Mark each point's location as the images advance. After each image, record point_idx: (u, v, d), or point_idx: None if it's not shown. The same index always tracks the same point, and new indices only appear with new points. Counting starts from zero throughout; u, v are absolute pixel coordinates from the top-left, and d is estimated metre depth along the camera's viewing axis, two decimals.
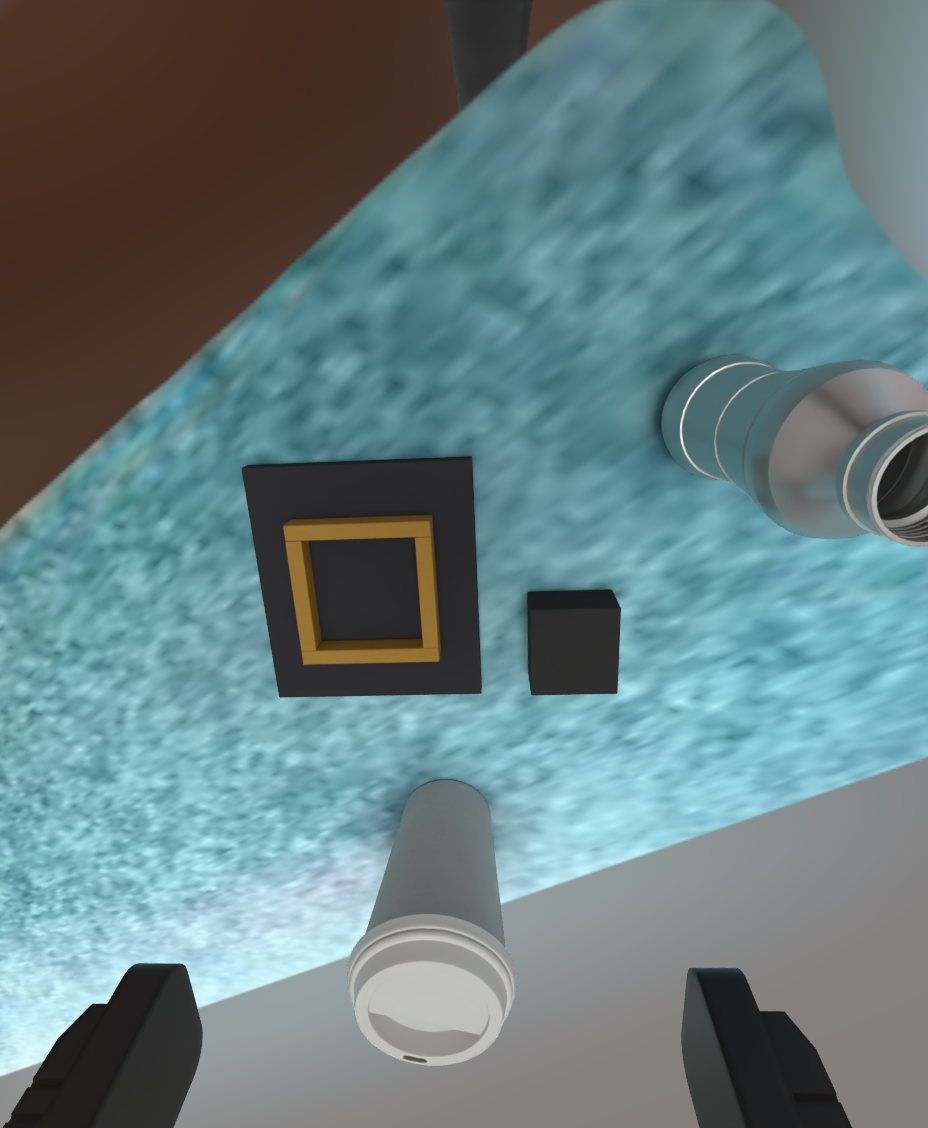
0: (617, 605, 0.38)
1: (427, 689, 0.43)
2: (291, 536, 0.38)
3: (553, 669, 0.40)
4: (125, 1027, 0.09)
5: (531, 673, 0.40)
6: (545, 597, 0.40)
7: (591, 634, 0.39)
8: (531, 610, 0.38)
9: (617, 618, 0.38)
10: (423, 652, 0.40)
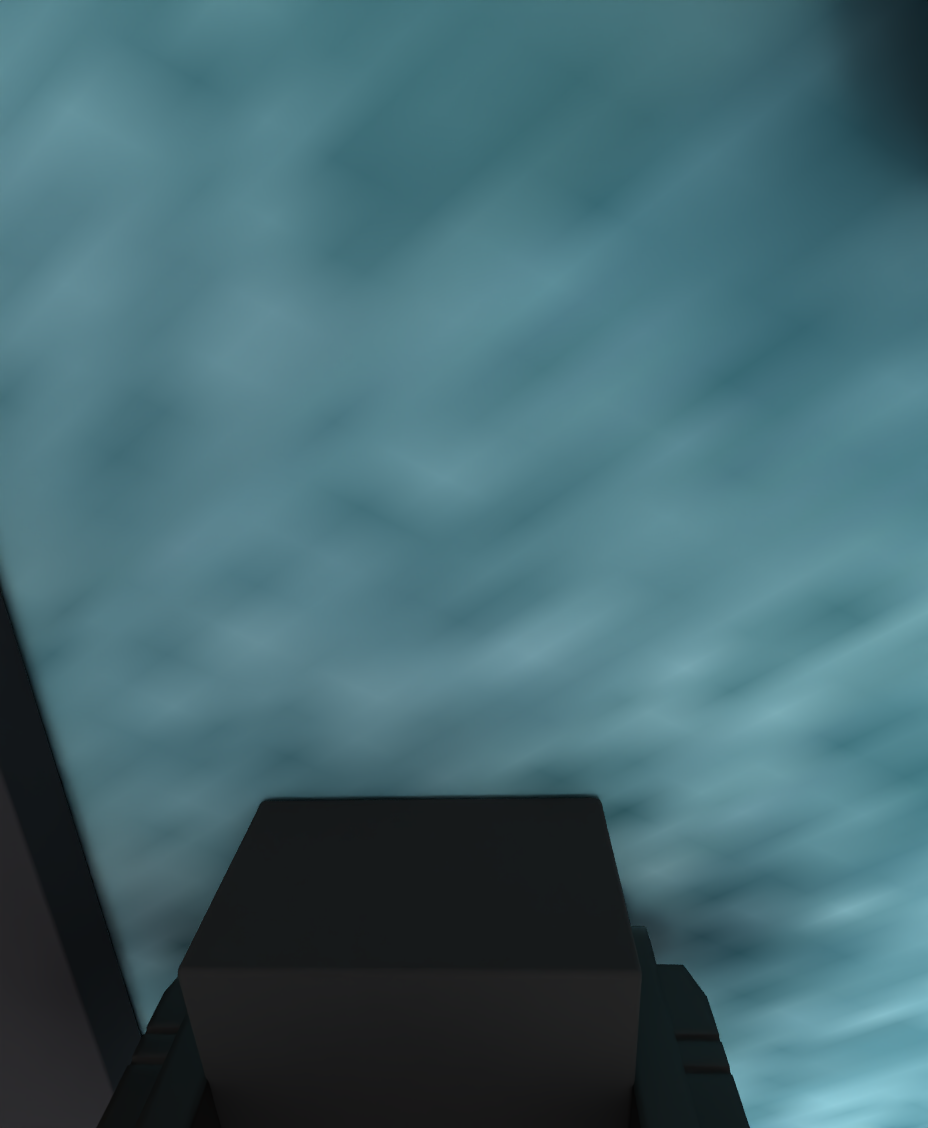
0: (623, 944, 0.07)
1: None
2: None
3: None
4: None
5: None
6: (307, 850, 0.09)
7: (493, 1074, 0.08)
8: (183, 971, 0.07)
9: (624, 1018, 0.07)
10: None
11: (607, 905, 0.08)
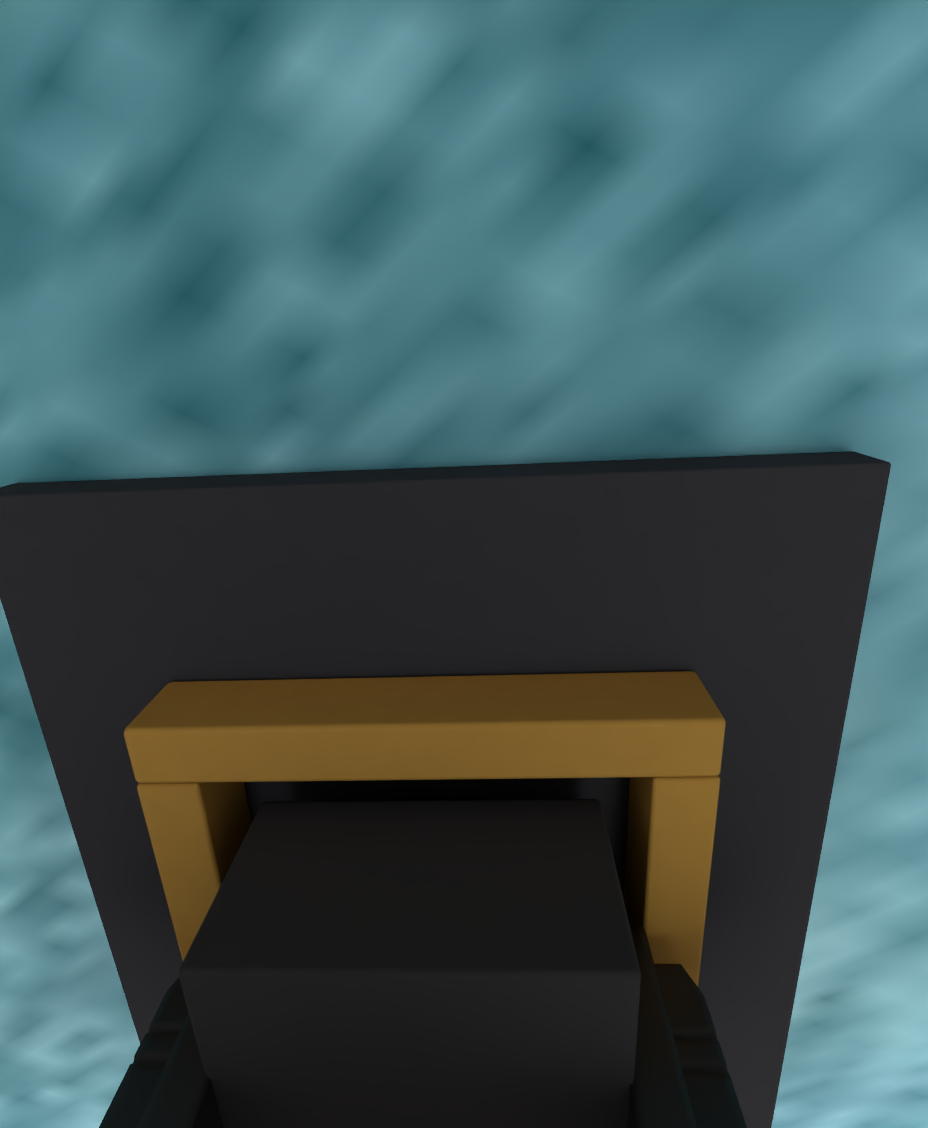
0: (621, 946, 0.08)
1: None
2: (158, 768, 0.10)
3: None
4: None
5: None
6: (307, 851, 0.09)
7: (494, 1075, 0.08)
8: (184, 972, 0.08)
9: (623, 1019, 0.07)
10: None
11: (606, 906, 0.08)
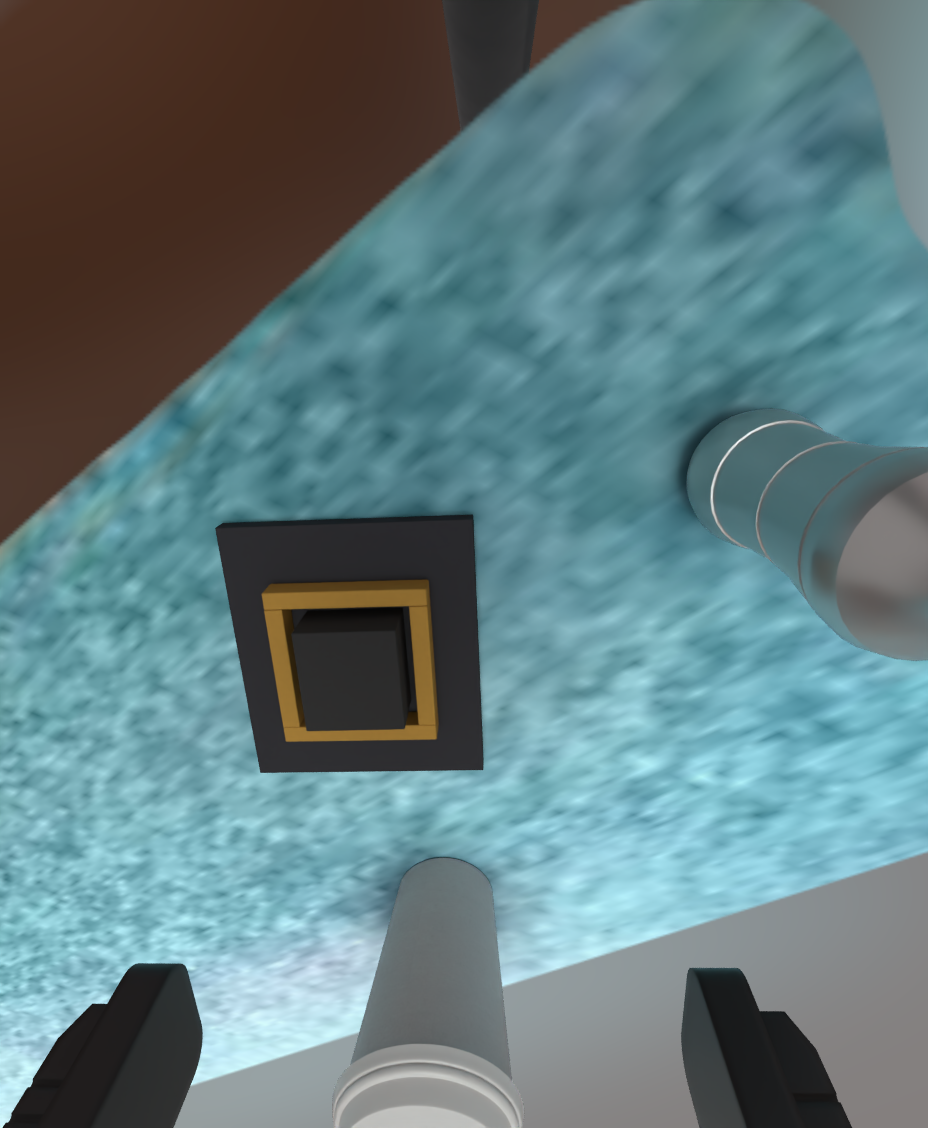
0: (393, 627, 0.33)
1: (423, 765, 0.39)
2: (270, 604, 0.34)
3: (327, 702, 0.34)
4: (125, 1027, 0.09)
5: (303, 706, 0.34)
6: (320, 618, 0.34)
7: (365, 661, 0.33)
8: (292, 634, 0.33)
9: (392, 643, 0.33)
10: (419, 729, 0.36)
11: (392, 622, 0.33)
